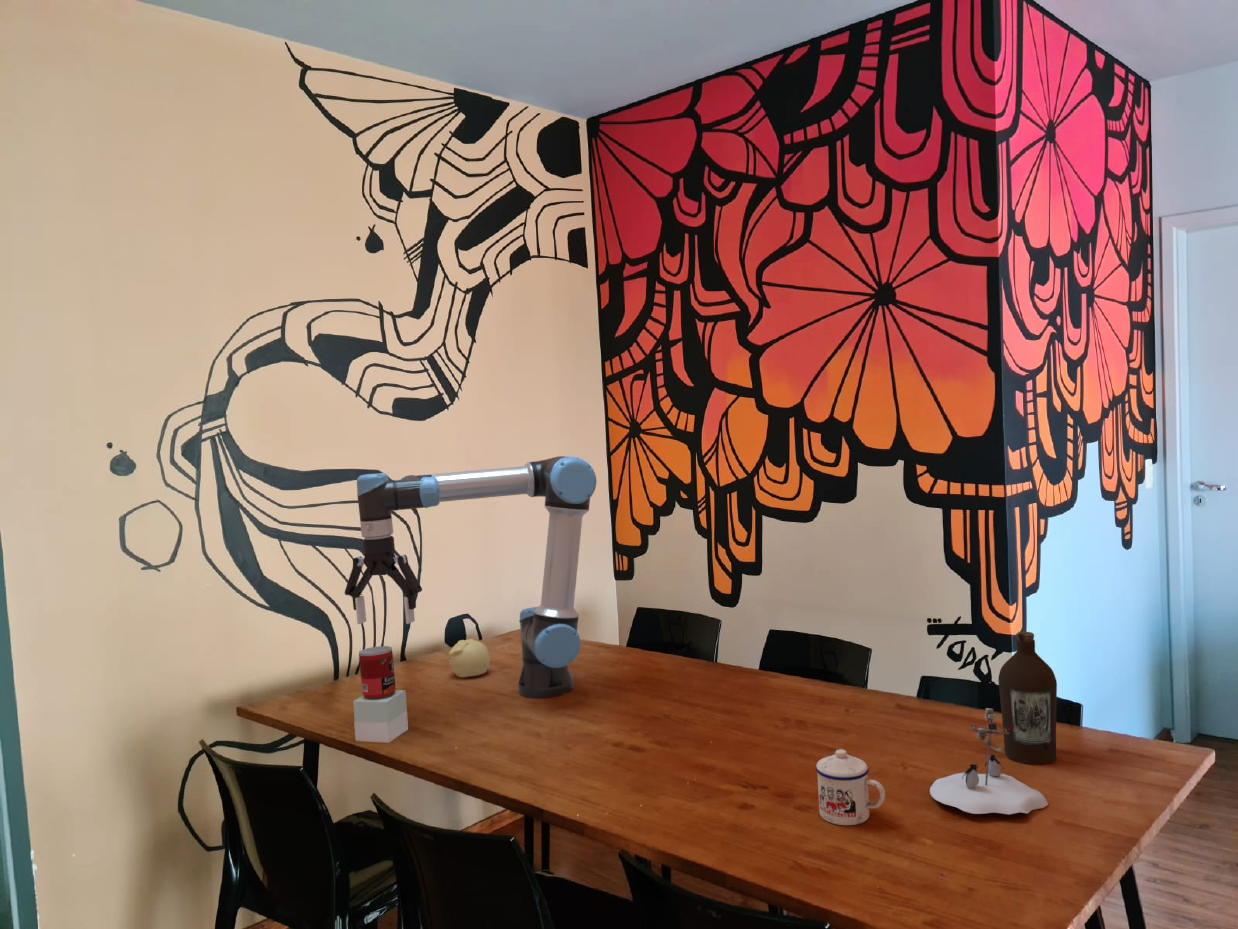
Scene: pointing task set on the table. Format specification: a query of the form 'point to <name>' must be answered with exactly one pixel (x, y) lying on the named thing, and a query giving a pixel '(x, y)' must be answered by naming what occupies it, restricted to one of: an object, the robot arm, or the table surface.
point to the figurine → (987, 784)
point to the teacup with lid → (845, 789)
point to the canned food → (377, 672)
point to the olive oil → (1028, 704)
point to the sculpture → (469, 658)
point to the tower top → (380, 708)
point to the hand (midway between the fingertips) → (386, 622)
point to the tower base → (381, 729)
